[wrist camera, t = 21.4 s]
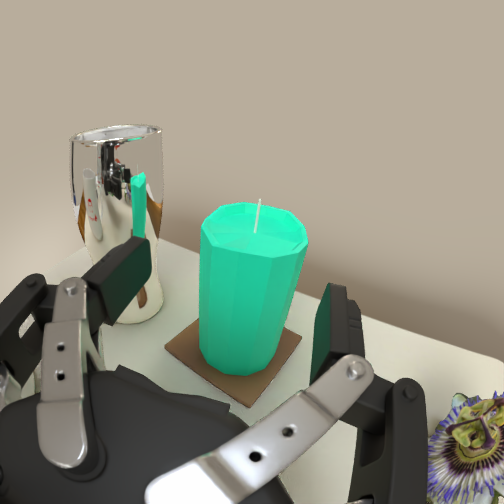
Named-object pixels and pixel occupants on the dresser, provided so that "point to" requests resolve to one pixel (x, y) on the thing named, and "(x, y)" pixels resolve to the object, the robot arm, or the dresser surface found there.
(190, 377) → the dresser surface
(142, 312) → the silver metal tumbler
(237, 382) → the coaster
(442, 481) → the passion flower
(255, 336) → the candle
